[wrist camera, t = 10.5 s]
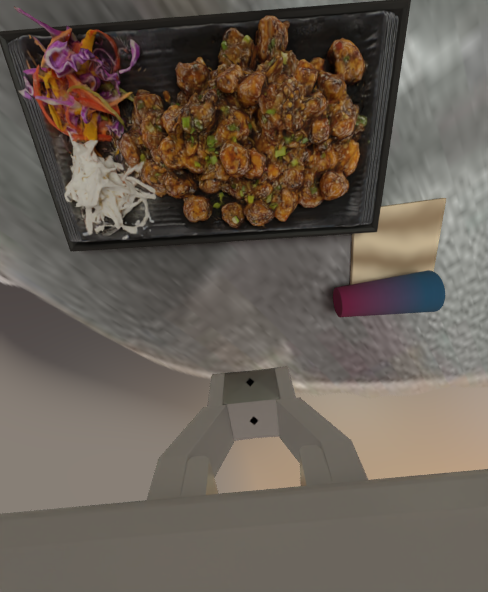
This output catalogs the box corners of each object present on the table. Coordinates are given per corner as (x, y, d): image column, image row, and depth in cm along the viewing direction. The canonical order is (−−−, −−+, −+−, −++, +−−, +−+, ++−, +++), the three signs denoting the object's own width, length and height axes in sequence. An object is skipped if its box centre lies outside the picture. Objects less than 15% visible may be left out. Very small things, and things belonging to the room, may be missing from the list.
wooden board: (352, 210, 41) (355, 210, 40) (442, 197, 40) (446, 198, 40) (349, 310, 48) (350, 312, 47) (424, 301, 48) (427, 302, 47)
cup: (331, 275, 44) (421, 263, 43) (330, 308, 48) (414, 298, 47) (345, 295, 38) (450, 282, 37) (343, 330, 42) (439, 319, 41)
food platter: (86, 245, 42) (41, 263, 32) (26, 49, 32) (-64, -6, 23) (364, 227, 41) (400, 241, 32) (390, 21, 31) (454, -50, 22)
